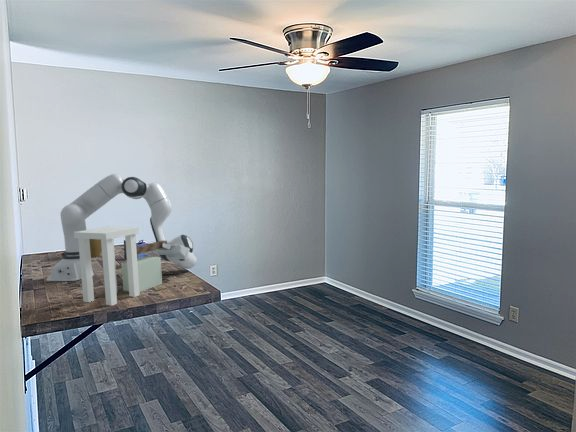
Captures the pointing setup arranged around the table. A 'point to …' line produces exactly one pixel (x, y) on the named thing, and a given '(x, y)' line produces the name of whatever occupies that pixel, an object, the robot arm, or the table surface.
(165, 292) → the table surface
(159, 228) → the robot arm
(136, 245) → the ink cartridge box
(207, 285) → the table surface
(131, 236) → the stool
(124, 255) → the phone stand
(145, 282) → the pale green cuboid block
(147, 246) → the wooden board
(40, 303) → the table surface
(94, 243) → the plant pot
